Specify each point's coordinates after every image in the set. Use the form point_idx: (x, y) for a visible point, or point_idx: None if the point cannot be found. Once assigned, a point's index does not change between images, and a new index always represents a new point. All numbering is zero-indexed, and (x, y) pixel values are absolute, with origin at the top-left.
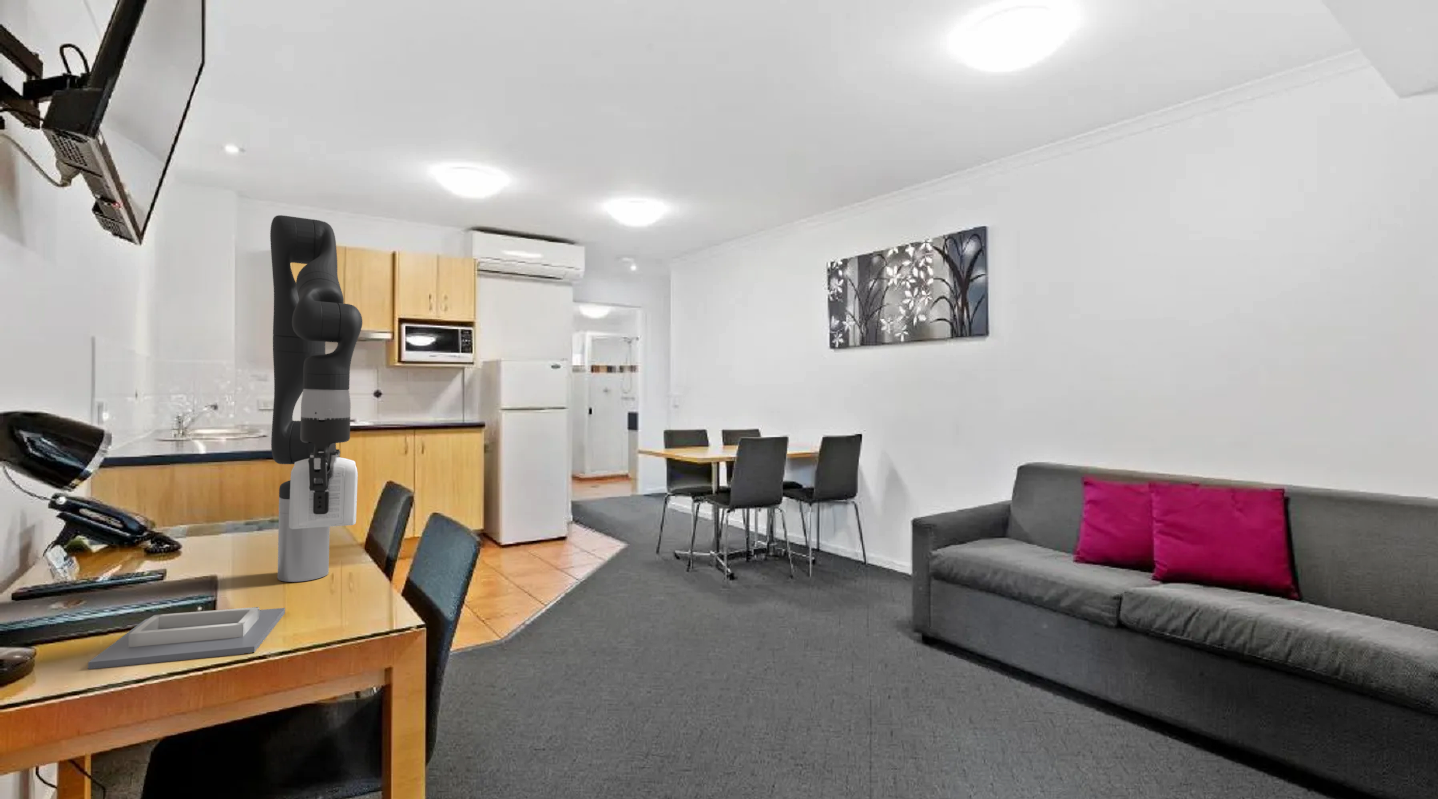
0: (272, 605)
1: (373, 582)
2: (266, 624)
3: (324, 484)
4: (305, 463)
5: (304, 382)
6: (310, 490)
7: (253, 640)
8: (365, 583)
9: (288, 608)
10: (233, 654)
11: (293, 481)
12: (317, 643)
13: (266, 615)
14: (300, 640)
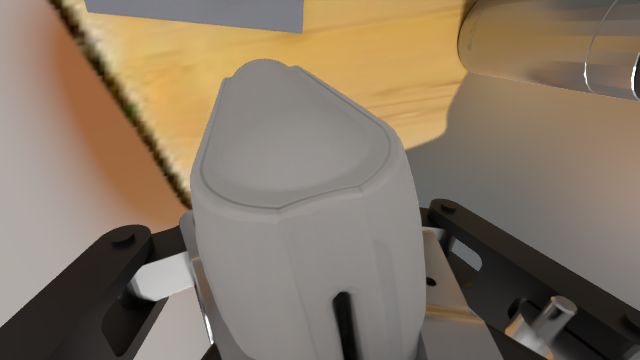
0: (352, 3)
1: (404, 142)
2: (214, 14)
3: (104, 318)
4: (235, 320)
5: None
6: (117, 230)
7: (123, 4)
8: (404, 132)
9: (326, 35)
10: None
11: (224, 131)
12: (139, 109)
13: (267, 5)
14: (155, 81)
